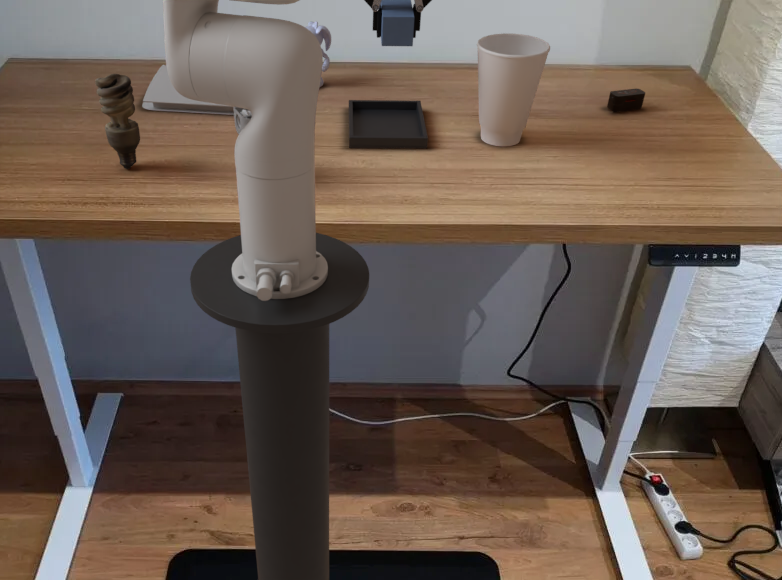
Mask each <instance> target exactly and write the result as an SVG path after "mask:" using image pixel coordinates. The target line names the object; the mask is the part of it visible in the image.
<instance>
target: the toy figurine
mask: <svg viewBox="0 0 782 580" xmlns="http://www.w3.org/2000/svg"><path fill="white" fill-rule="evenodd" d="M304 27H305V28H307V29H308V30H310V31H311V32H312V33H313V34H314V35H315V36H316V38H317V39H318V41H319V43H320V46H321V45H322V44H323V40H324V44H325V45H324V47H325V51H324V48H323V47H321V49H322V56H323V59H324V61H323V65H322V73H325V72H327V71H328V70H329V68H330V63H331V60H330V57H329V56H328V54H327V53H325V52H328V51H329V50H330V48H331V44H332V33H331V31H330V30H329V28H328V27H326V26H325V25H323V24H320V25H319V22H318V21H317V20H315V21H308V23H307V26H304ZM323 86H324V79H323V77H322V76H321V81H320V87H319V88H321V87H323Z"/></svg>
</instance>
